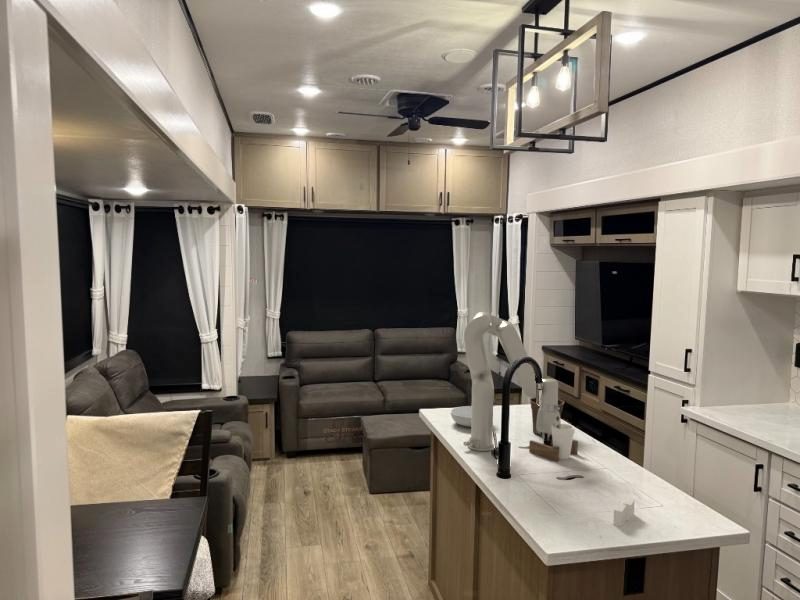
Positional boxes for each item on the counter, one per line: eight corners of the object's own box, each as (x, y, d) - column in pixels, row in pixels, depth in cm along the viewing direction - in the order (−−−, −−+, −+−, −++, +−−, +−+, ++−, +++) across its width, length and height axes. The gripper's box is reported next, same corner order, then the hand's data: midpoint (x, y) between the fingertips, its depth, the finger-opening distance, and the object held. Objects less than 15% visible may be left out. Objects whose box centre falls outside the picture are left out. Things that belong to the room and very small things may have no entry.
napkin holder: (617, 532, 164) (618, 514, 164) (594, 515, 175) (595, 498, 175) (658, 526, 168) (659, 509, 168) (633, 510, 179) (634, 494, 179)
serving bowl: (445, 420, 281) (445, 407, 280) (482, 417, 286) (482, 405, 285) (458, 432, 261) (458, 418, 260) (498, 429, 266) (498, 415, 265)
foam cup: (547, 452, 233) (548, 423, 232) (569, 452, 233) (570, 423, 232) (554, 460, 224) (555, 429, 223) (576, 460, 224) (577, 430, 223)
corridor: (556, 461, 222) (556, 447, 222) (529, 452, 233) (529, 439, 233) (577, 453, 231) (578, 440, 231) (550, 445, 242) (550, 432, 242)
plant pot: (567, 439, 252) (568, 405, 251) (533, 438, 252) (534, 404, 251) (558, 428, 268) (559, 397, 267) (525, 428, 268) (526, 396, 267)
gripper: (568, 409, 230) (567, 451, 231) (539, 402, 242) (538, 442, 243) (558, 412, 225) (556, 455, 227) (529, 405, 237) (528, 445, 238)
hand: (547, 448), depth 235 cm, fingers closed
